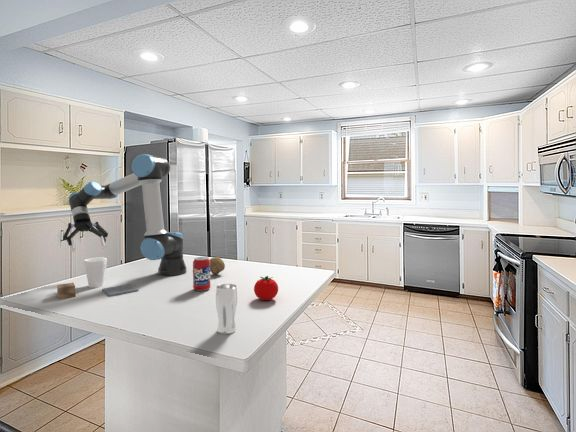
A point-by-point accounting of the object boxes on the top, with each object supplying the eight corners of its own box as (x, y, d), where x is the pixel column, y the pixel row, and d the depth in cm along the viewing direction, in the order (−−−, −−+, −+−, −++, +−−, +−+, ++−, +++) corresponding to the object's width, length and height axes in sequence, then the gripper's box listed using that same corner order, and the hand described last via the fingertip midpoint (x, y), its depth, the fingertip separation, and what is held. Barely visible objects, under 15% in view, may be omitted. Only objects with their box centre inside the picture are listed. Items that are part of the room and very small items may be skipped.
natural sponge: (223, 272, 190) (223, 255, 190) (225, 276, 182) (225, 258, 181) (207, 273, 187) (207, 255, 187) (208, 277, 179) (208, 259, 178)
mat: (129, 285, 162) (129, 283, 162) (138, 291, 154) (138, 289, 154) (102, 290, 154) (102, 288, 154) (110, 296, 145) (110, 294, 145)
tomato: (269, 305, 136) (269, 281, 135) (248, 300, 142) (248, 277, 141) (282, 298, 145) (283, 275, 144) (263, 294, 151) (263, 272, 150)
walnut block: (73, 293, 150) (73, 282, 149) (75, 296, 145) (75, 285, 145) (57, 296, 146) (57, 284, 146) (58, 299, 141) (58, 288, 141)
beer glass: (226, 324, 116) (226, 282, 115) (241, 329, 112) (241, 285, 111) (211, 331, 110) (211, 287, 109) (226, 336, 106) (226, 290, 105)
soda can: (204, 286, 162) (204, 255, 161) (213, 289, 157) (213, 258, 156) (190, 289, 157) (189, 257, 156) (198, 293, 151) (198, 260, 150)
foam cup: (97, 289, 156) (96, 261, 155) (80, 288, 158) (79, 260, 157) (111, 283, 165) (111, 257, 164) (95, 282, 167) (94, 257, 166)
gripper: (105, 220, 189) (114, 250, 180) (52, 222, 172) (59, 255, 162) (108, 211, 185) (117, 241, 175) (53, 213, 168) (60, 246, 158)
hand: (89, 248), depth 169 cm, fingers open, 13 cm apart
